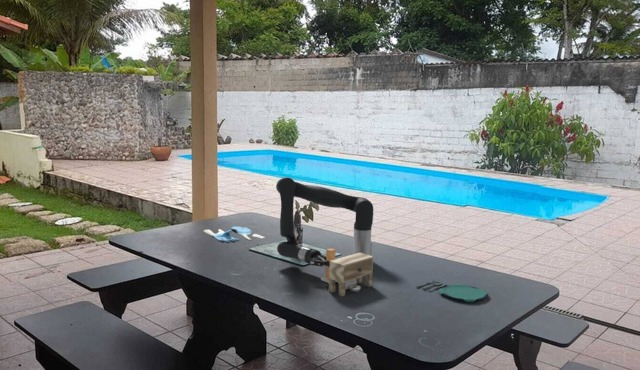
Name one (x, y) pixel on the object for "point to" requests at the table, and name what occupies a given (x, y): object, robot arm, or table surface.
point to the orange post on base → (329, 256)
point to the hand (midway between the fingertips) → (335, 264)
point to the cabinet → (350, 271)
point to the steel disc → (354, 288)
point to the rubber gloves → (227, 237)
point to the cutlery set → (459, 291)
